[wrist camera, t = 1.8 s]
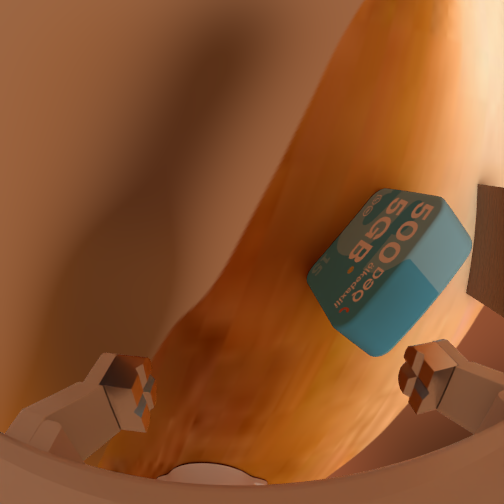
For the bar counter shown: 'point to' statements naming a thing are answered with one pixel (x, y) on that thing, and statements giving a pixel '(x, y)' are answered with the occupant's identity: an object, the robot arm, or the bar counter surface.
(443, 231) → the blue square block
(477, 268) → the bookend
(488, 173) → the bar counter surface
